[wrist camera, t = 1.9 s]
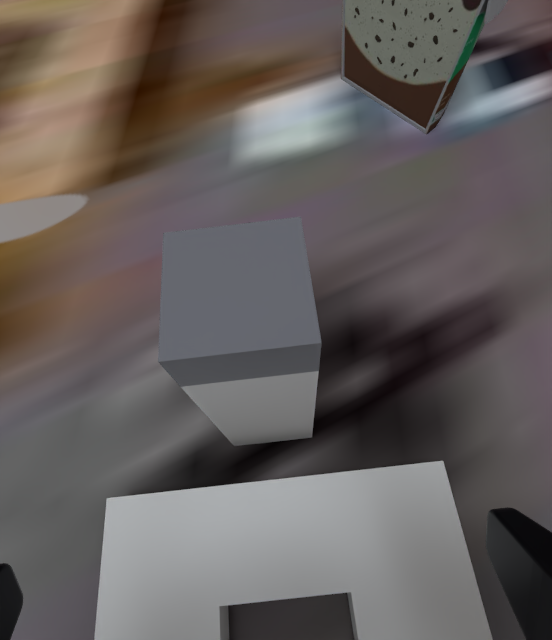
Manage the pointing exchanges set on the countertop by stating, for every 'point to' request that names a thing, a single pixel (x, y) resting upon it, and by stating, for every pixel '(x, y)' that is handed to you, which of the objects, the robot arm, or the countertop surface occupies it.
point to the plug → (242, 327)
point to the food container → (411, 51)
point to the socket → (292, 556)
